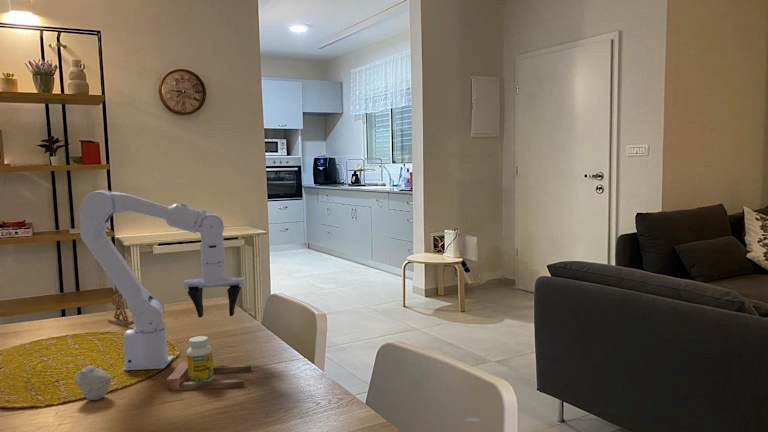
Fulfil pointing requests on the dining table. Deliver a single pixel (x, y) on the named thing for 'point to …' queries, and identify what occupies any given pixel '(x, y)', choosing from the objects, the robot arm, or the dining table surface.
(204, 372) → the supplement bottle
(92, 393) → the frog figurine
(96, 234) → the robot arm
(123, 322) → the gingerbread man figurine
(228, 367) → the guide channel
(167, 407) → the dining table surface
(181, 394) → the dining table surface
